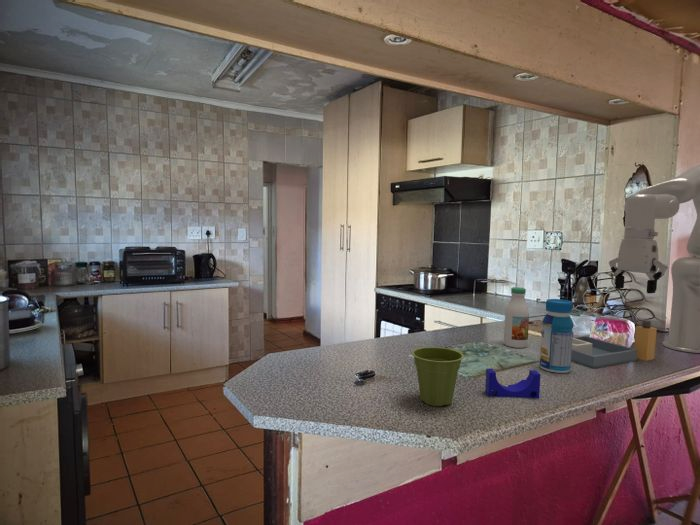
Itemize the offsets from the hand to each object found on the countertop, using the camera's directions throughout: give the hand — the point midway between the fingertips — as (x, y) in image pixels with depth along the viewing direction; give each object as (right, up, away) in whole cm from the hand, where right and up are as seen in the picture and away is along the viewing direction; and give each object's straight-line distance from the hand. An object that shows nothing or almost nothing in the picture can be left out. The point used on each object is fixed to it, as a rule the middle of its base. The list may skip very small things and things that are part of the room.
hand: (634, 290), depth 135 cm
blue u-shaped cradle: (-48, -24, -28) cm, 61 cm away
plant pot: (-68, -24, -33) cm, 79 cm away
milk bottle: (-31, -20, +16) cm, 40 cm away
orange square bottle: (+5, -22, +4) cm, 23 cm away
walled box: (-12, -21, +5) cm, 25 cm away
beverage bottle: (-29, -22, -8) cm, 37 cm away
